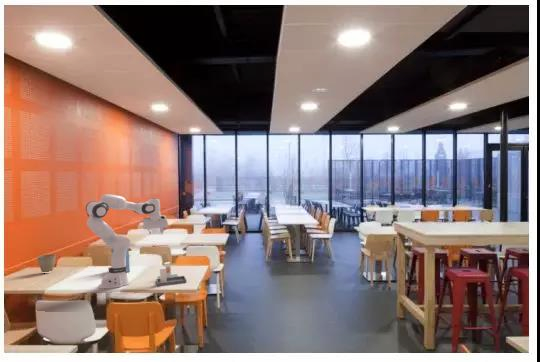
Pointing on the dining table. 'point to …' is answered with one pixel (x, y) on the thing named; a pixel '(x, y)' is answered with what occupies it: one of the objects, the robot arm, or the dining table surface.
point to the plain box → (163, 275)
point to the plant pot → (46, 262)
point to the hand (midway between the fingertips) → (155, 233)
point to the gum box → (126, 259)
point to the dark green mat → (171, 276)
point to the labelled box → (168, 269)
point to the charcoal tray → (172, 281)
